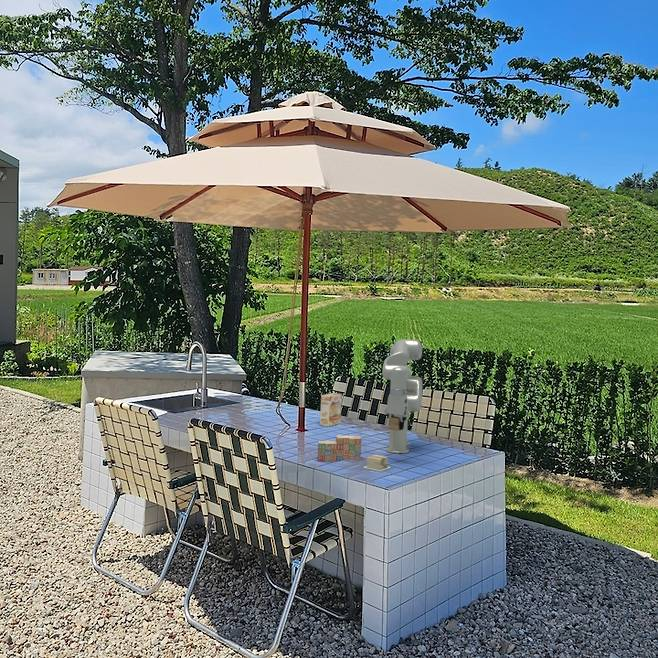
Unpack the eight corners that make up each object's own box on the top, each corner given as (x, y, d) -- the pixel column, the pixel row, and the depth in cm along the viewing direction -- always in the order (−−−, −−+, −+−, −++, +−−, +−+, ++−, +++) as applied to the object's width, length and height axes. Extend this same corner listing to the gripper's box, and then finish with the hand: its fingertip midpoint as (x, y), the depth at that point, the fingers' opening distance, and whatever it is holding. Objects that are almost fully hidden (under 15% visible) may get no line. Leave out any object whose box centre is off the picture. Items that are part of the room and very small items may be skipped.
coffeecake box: (329, 427, 432) (330, 396, 431) (319, 425, 436) (320, 395, 435) (341, 423, 445) (342, 393, 444) (331, 422, 448) (332, 392, 447)
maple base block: (374, 464, 338) (375, 454, 337) (387, 467, 334) (387, 457, 333) (366, 467, 332) (367, 457, 332) (379, 470, 328) (379, 459, 328)
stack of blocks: (318, 461, 345) (318, 437, 345) (317, 458, 351) (318, 434, 351) (360, 462, 347) (361, 438, 346) (359, 459, 353) (360, 435, 352)
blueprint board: (372, 464, 343) (372, 461, 343) (396, 469, 334) (397, 467, 334) (356, 469, 331) (356, 467, 331) (381, 475, 323) (381, 472, 323)
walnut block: (394, 427, 347) (395, 416, 347) (403, 429, 344) (403, 417, 344) (389, 429, 343) (389, 417, 343) (398, 431, 340) (398, 419, 340)
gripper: (416, 393, 340) (415, 429, 342) (387, 389, 350) (385, 424, 352) (408, 395, 334) (407, 432, 336) (379, 391, 344) (377, 426, 346)
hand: (396, 428), depth 344 cm, fingers closed on walnut block, 5 cm apart
